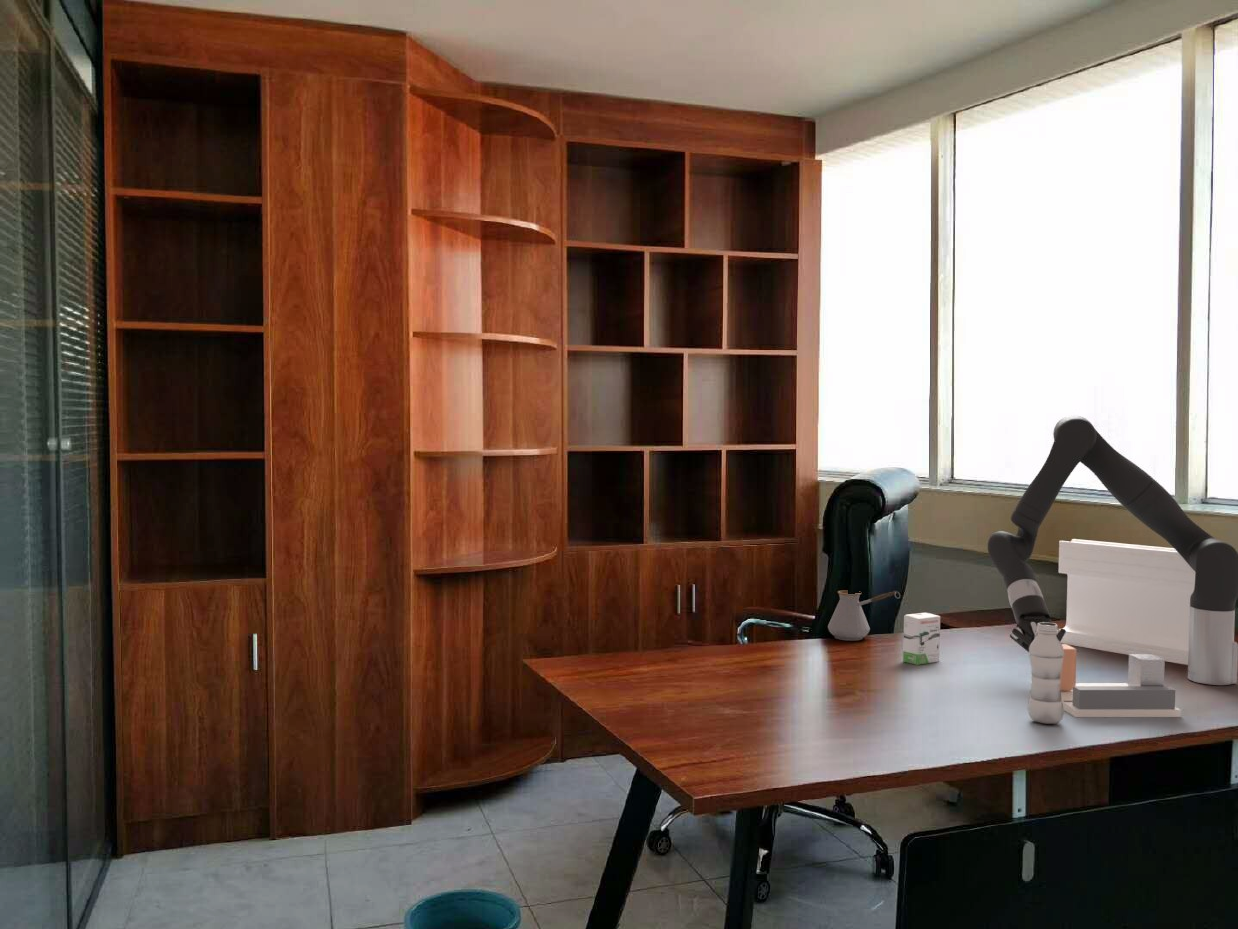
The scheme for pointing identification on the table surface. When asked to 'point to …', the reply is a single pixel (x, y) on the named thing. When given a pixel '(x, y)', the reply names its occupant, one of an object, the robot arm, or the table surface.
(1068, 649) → the tall salmon pillar
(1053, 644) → the plastic bottle
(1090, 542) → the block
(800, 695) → the table surface
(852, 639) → the coffee pot
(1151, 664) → the brushed metal pillar
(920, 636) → the ink box
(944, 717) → the table surface
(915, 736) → the table surface
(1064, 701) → the plate
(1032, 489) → the robot arm
